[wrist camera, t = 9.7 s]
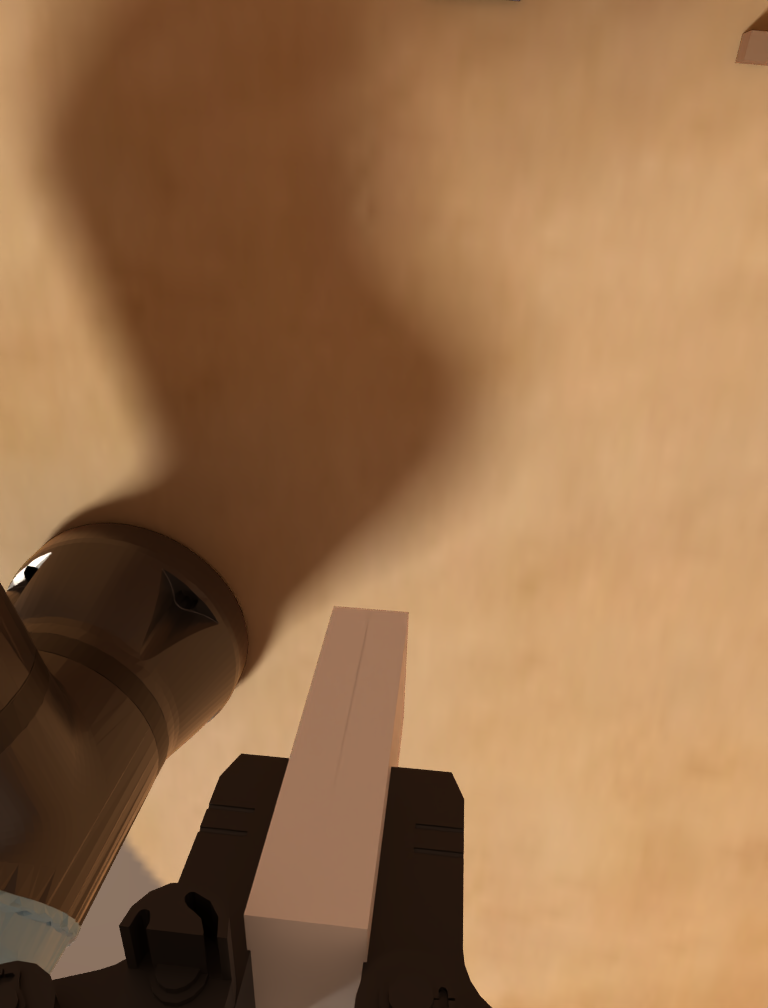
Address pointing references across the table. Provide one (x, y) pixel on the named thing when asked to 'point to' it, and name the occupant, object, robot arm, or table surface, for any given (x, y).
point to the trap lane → (751, 48)
